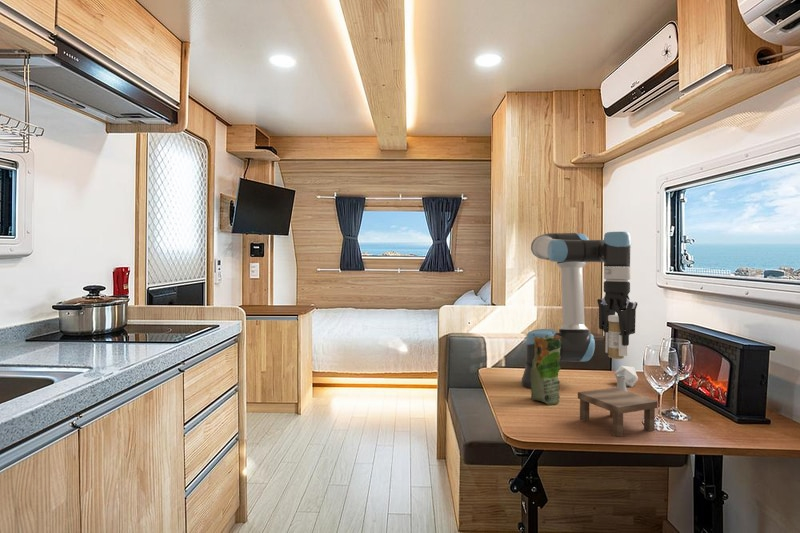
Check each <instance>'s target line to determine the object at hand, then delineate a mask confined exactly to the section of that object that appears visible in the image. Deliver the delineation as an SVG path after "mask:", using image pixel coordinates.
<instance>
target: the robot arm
mask: <svg viewBox="0 0 800 533" xmlns="http://www.w3.org/2000/svg"><path fill="white" fill-rule="evenodd" d="M631 245H632V243H631V234H630V232H628V231H608V232H605V233H604V235H603V239H589V237H588V236H587V235H586V234H584V233H577V232H566V233H564V232H562V233H561V232H558V233H557V232H556V233H555V232H554V233H553V232H550V233H549V232H548V233H543V234H540V235H538V236H536V237H535V238H534V239H533V240H532V241H531V244H530V249H531V252H532V254H533V255H534V256H535V257H536V258H537V259H541V260H546V261H550V262H554V263H555V262H556V263H557V264H556V265H557V266H558V267H559V268H560V270H561V271H560V273H561V279H560V280H561V311H562V312H561V314H562V325H560V327H559V328H558V332H556V330H555V329H553V328H537V329H531V330H530V331H528V332H527V333H526V338H525V346H526V347H525V367H524V371H523V373H522V374H523V375H522V377H521V385H522V386H523V387H524V388H529V389H531V380H530V378H531V368H532V363H533V361H532V360H533V359H534V356H535V346H534V339H533V338H534V337H535V336H536V337H539V338H541V337H543V338H545V337H546V335H548V336H549V337H550V336H553V335H559V336H562V337H561V342H562V343H561V348H560V357H561V358H560V361H559V362H577V363H580V362H588V361H590V360H591V359H592V357H593V356H594V352H595V349H596V342H595V341H596V340H595V337H594V334H592V333H590V330H589V327H587V326H586V325H585V324H586V323H585V322H586V321H585V303H584V302H585V297H584V294H585V293H584V270H583V268H584V267H585V266H586V265H587V263H603V279H604V280H603V281H604V282H603V292H604V293H605V294H604V298H598V299H597V301H596V302H597V306H598V329H600V330H602V331H603V340H604V342H605V353H606V354H609V346H608V345H609V321H608V316H609V315H618V317H619V325H620V330H621V334H620V335H619V356H624V357H626V356H628V346H629V344H630V335H633V334H634V335H635V333H636V317H637V316H636V311H637V310H636V309H637V307H638V302H637V301H632V300H631V299H630V297H629V294H630V293H631V282H630V281H629V280H631V248H632V247H631Z"/></svg>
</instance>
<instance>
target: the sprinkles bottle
mask: <svg viewBox="0 0 800 533" xmlns="http://www.w3.org/2000/svg"><path fill="white" fill-rule="evenodd" d="M608 321H609V345H608V346H609V353H608V355H607V356H608V357H609V358H611V359H615V360H621V359H624V358H625V356H619V335H620V334H621V330H620V325H619V317H618V314H615V315H609V316H608Z"/></svg>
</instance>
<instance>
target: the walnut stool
mask: <svg viewBox="0 0 800 533" xmlns="http://www.w3.org/2000/svg"><path fill="white" fill-rule="evenodd" d="M627 391H628V390H627ZM627 391H624V390H621V389H618V388H616V386H615V387H608V388H600V389H592V390H585V391H578V392H577V399H579V420H580V421H581V422H583V423H587V422H590V404H592V405H594V406H596V407H599V408H601V409H605V411H609V416H611V417H612V426H611V427H612V430H611V431H612V435H613V436H614V437H617V438H620V437H624V414H627V413H634V412H640V411H643V414H644V415H643V430H646V431H648V432H652V431H655V424H656V423H655V422H656V421H655V417H656V415H655V409H658V401H657V400H654V399H651V398H648V397H646V396H642V395H639V394H636V393H632V392H629V391H628V392H627Z"/></svg>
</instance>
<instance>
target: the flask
mask: <svg viewBox="0 0 800 533" xmlns="http://www.w3.org/2000/svg"><path fill="white" fill-rule="evenodd" d="M625 379H626V376H624V375H617V378H616V381H617V382H616V386H615V388H618V389H621V390H624V391H627V392H629V391H628V389H627V386H626V384H625Z"/></svg>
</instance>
